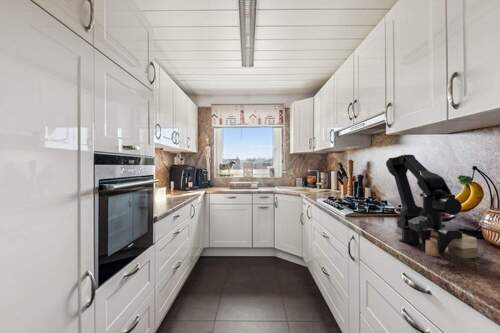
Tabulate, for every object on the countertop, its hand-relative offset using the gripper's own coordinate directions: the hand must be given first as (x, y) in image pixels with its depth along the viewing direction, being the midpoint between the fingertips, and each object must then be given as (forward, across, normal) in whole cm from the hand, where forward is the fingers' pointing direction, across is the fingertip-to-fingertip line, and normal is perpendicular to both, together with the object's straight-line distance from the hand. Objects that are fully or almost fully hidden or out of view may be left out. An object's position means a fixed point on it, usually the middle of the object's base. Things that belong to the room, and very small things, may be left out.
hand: (432, 251), depth 94 cm
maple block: (-2, +2, +10) cm, 11 cm away
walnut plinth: (+1, +2, +10) cm, 10 cm away
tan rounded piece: (+1, 0, 0) cm, 1 cm away
